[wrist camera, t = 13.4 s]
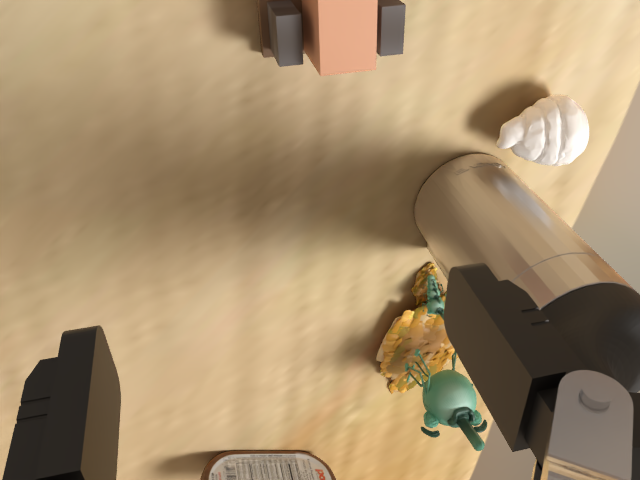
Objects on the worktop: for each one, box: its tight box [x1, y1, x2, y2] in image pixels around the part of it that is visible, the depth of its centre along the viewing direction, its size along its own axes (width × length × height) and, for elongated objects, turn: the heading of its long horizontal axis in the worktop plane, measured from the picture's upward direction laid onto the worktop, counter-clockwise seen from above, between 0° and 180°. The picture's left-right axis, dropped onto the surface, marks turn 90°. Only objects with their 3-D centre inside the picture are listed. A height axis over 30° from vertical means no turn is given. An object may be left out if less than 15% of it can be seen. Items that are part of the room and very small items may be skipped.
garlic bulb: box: [496, 95, 589, 166], centre depth 46 cm, size 6×6×5 cm
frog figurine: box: [376, 263, 487, 451], centre depth 55 cm, size 10×18×15 cm, turn 167°
